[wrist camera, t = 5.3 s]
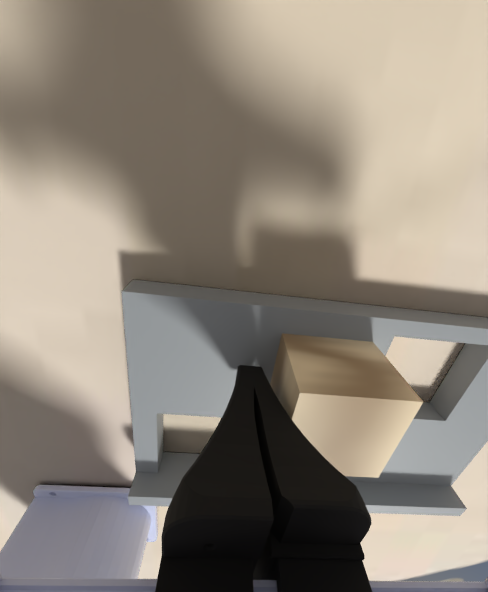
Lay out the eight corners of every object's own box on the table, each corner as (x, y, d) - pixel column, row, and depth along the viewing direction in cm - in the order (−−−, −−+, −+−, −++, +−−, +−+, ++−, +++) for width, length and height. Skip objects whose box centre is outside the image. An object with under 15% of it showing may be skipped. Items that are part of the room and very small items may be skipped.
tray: (143, 459, 19) (128, 504, 17) (133, 279, 13) (106, 305, 10) (431, 473, 21) (460, 515, 19) (541, 323, 15) (608, 355, 12)
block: (265, 402, 15) (275, 473, 12) (281, 333, 13) (300, 392, 9) (345, 408, 16) (378, 477, 12) (372, 341, 13) (423, 402, 10)
